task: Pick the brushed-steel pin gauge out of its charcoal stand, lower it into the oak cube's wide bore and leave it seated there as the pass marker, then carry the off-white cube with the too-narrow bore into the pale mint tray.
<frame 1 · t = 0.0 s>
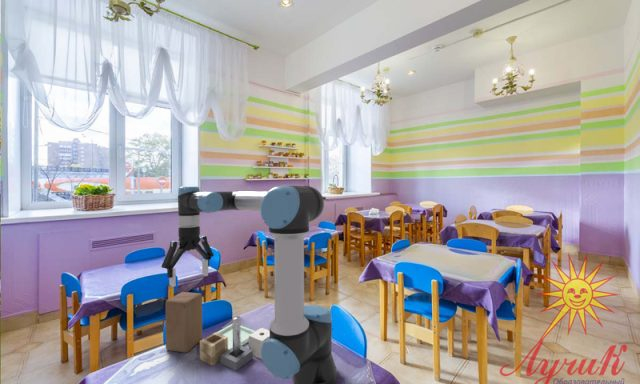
hand: (189, 280, 104), 28 cm above the table, fingers open, 13 cm apart
steel pin: (236, 339, 99), in the pin stand
pin stand: (236, 360, 99), on the table
mint tray: (232, 338, 113), on the table
wooden block: (184, 345, 109), on the table
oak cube: (214, 357, 101), on the table
white cube: (261, 351, 105), on the table
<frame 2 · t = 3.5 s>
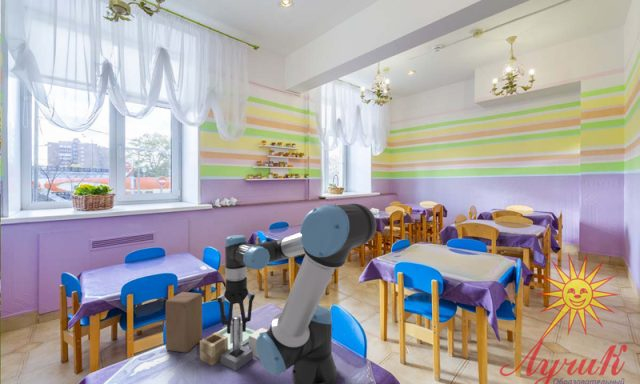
hand: (236, 340, 99), 8 cm above the table, fingers closed on steel pin, 3 cm apart
steel pin: (236, 339, 99), in the pin stand, touching gripper
everything else where it was.
when the fingers open (9 cm above the table, at t = 8.1 s): steel pin stays where it is, resting in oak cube.
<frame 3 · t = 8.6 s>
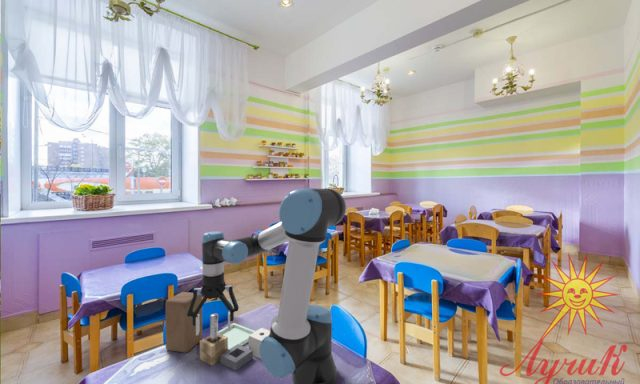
hand: (213, 331, 101), 10 cm above the table, fingers open, 10 cm apart
steel pin: (214, 336, 101), in the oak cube
everything else where it was.
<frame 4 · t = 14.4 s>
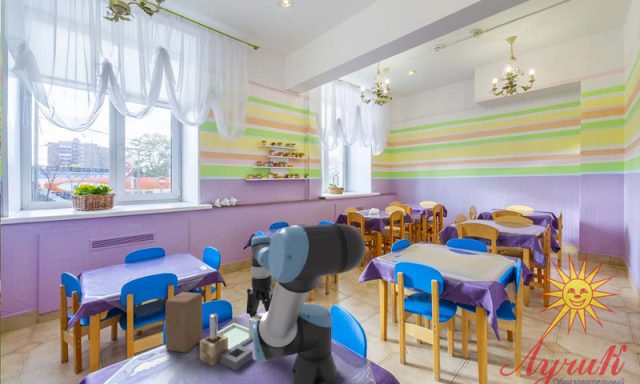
hand: (262, 334, 104), 7 cm above the table, fingers closed on white cube, 7 cm apart
white cube: (262, 335, 104), point 6 cm above the table, touching gripper
everything else where it was.
when the fingers open (2 cm above the table, at t = 18.8 s): white cube stays where it is, resting on mint tray.
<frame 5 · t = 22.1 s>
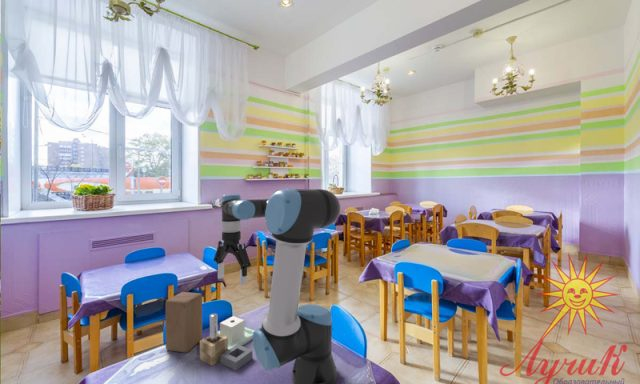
hand: (231, 281, 113), 25 cm above the table, fingers open, 13 cm apart
white cube: (232, 337, 114), resting on mint tray
everything else where it was.
at the end: white cube inside the target area on the mint tray (0.1 cm from its centre), point 0.4 cm above the mint tray's base; steel pin 0.1 cm off-centre on the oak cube, point 8.0 cm above the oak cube's base; white cube tilted 0° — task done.
